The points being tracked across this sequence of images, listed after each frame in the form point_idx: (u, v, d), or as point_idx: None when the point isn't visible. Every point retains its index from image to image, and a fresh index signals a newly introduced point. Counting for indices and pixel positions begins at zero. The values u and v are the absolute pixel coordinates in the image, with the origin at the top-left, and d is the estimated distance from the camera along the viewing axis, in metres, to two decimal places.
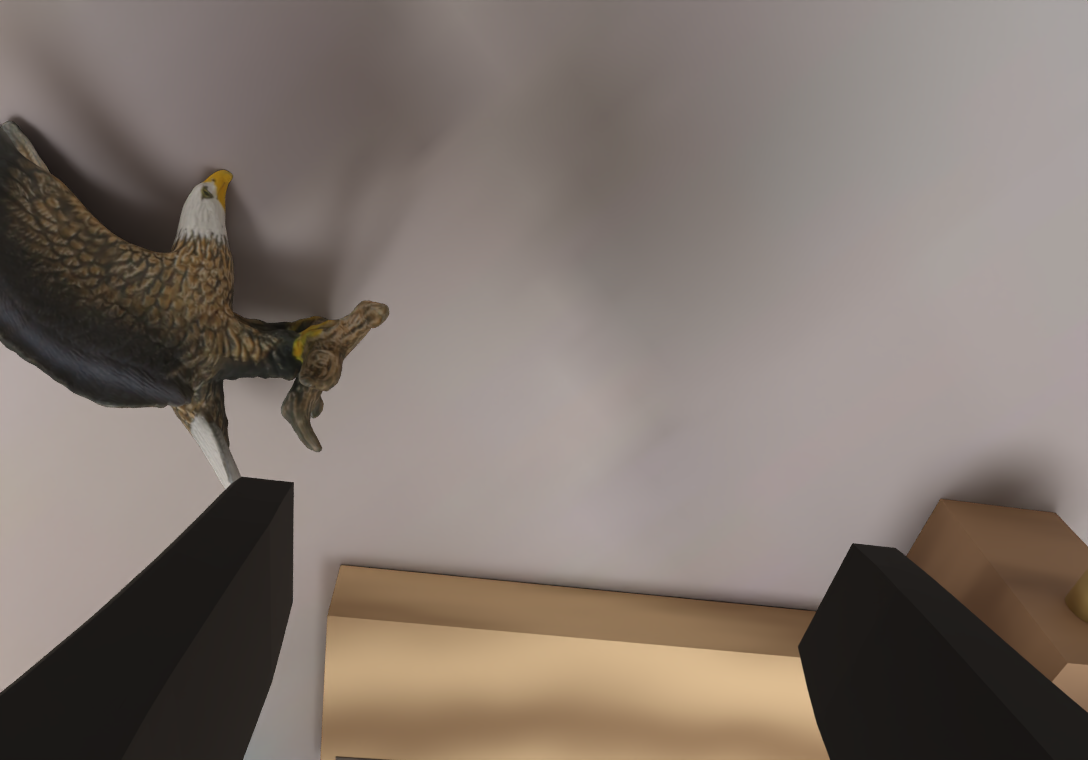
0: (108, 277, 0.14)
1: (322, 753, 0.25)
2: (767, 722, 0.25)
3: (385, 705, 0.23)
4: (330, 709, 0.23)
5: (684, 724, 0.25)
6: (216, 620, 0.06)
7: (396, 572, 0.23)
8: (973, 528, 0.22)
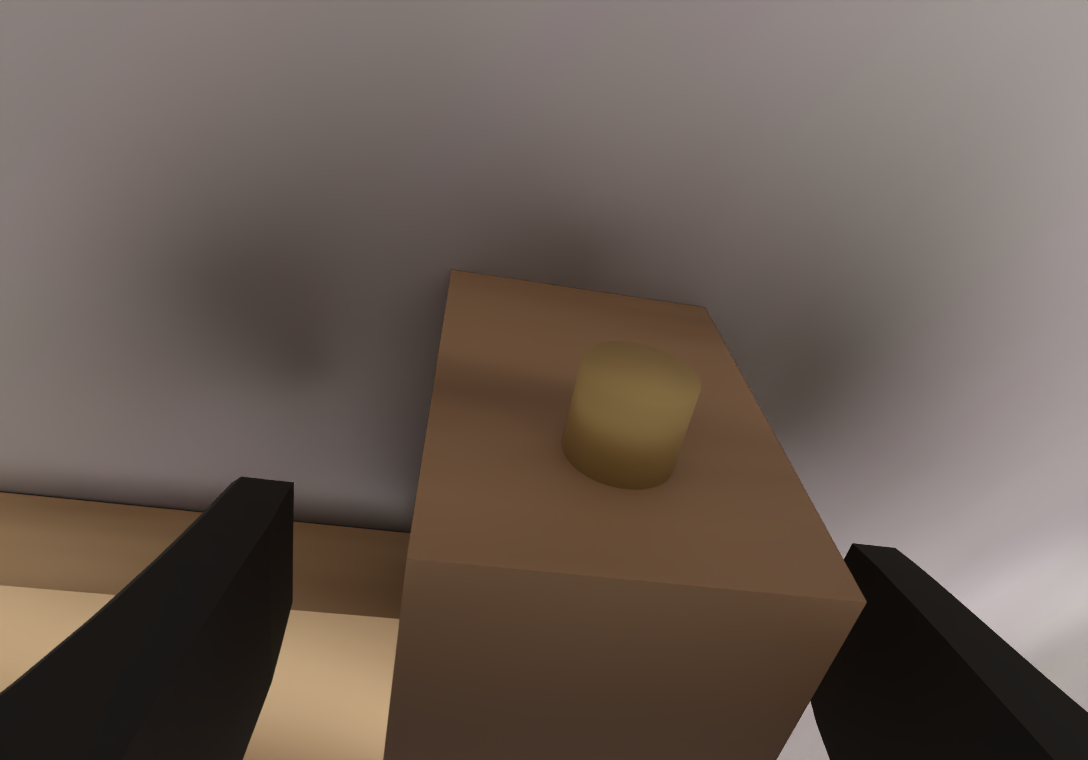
0: None
1: None
2: None
3: None
4: None
5: None
6: (216, 620, 0.06)
7: None
8: (472, 309, 0.10)
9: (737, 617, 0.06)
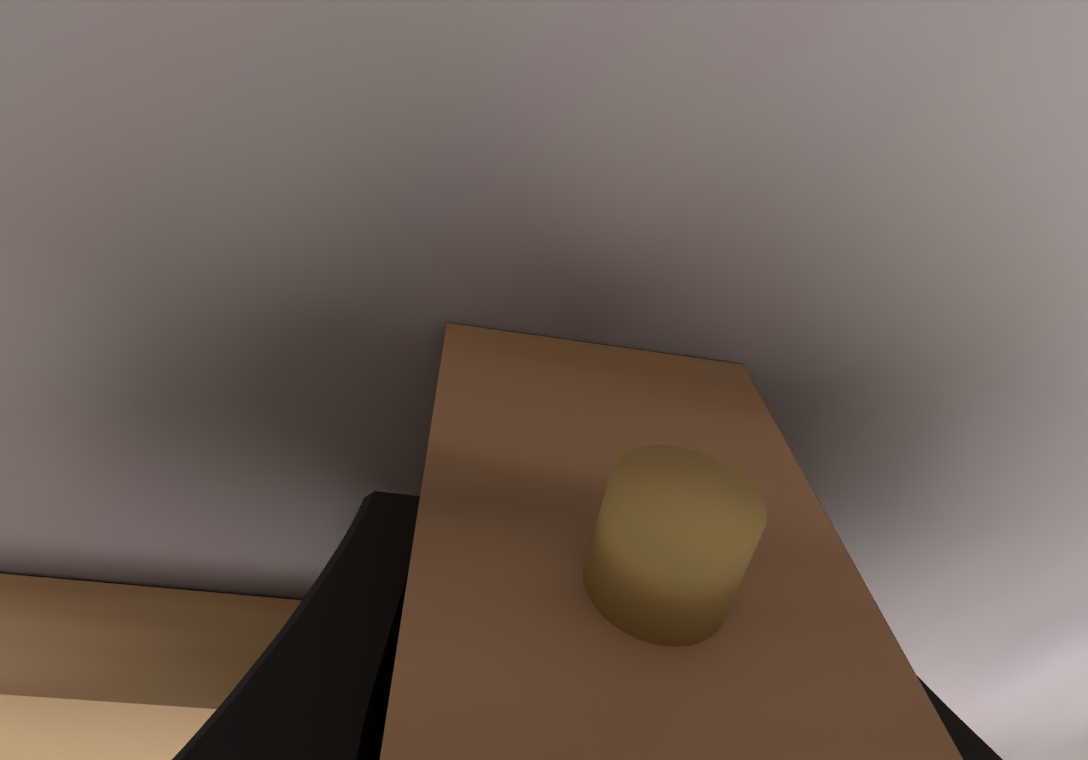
0: None
1: None
2: None
3: None
4: None
5: None
6: (391, 634, 0.07)
7: None
8: (470, 378, 0.08)
9: None
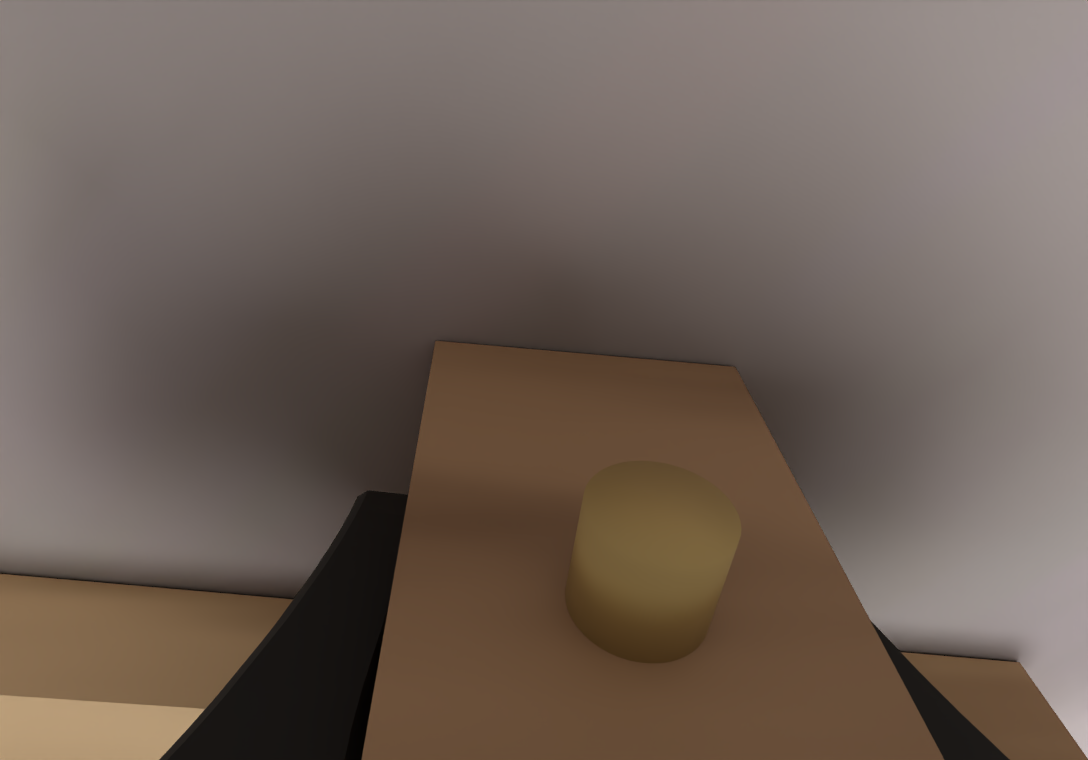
0: None
1: None
2: None
3: None
4: None
5: None
6: (382, 634, 0.07)
7: None
8: (458, 396, 0.08)
9: None
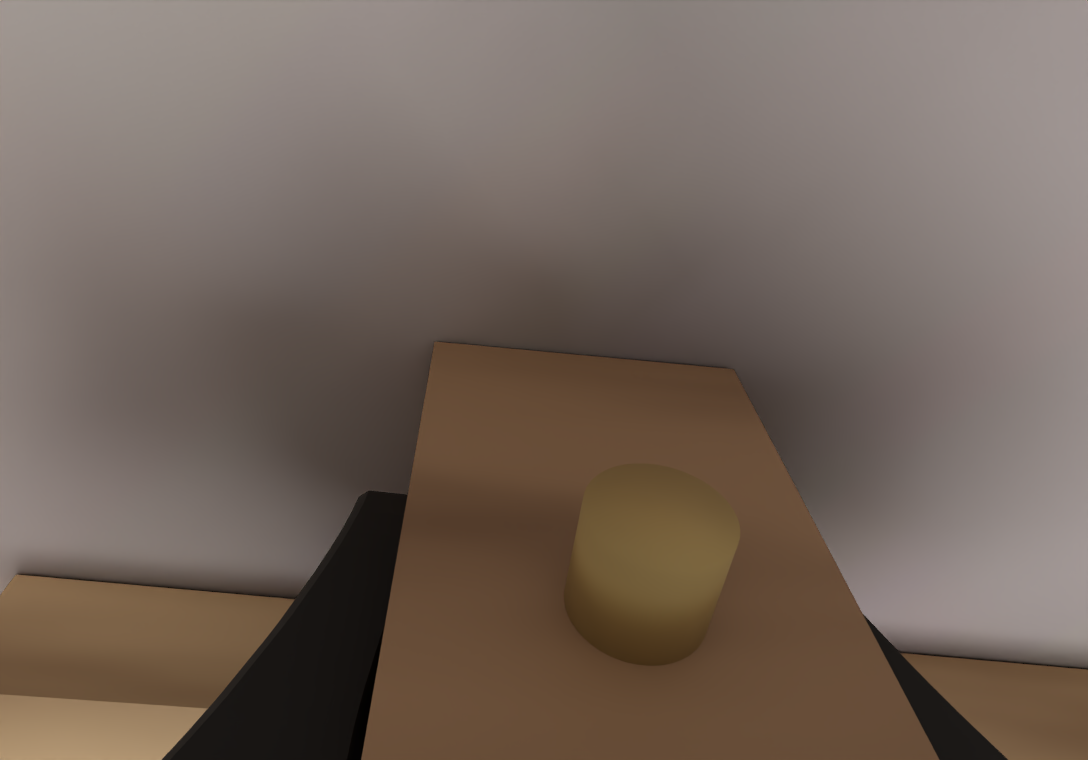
0: None
1: None
2: None
3: None
4: None
5: None
6: None
7: (137, 589, 0.11)
8: (457, 397, 0.08)
9: None
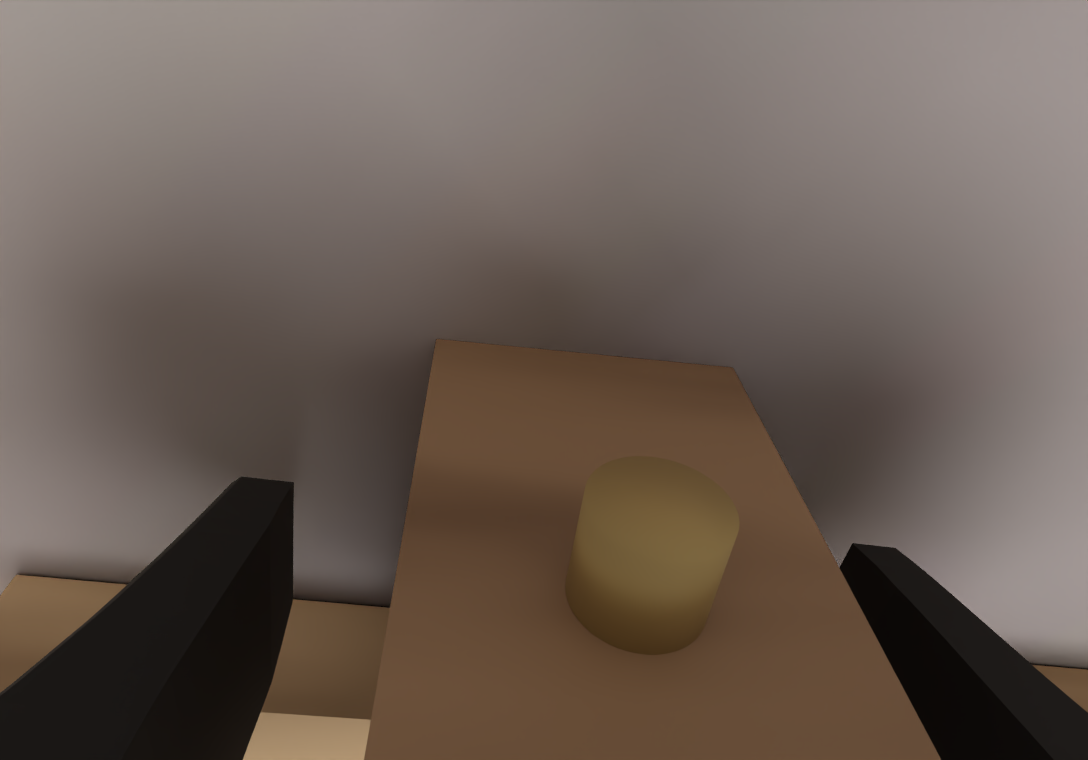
0: None
1: None
2: None
3: None
4: None
5: None
6: (216, 620, 0.06)
7: None
8: (458, 392, 0.08)
9: None
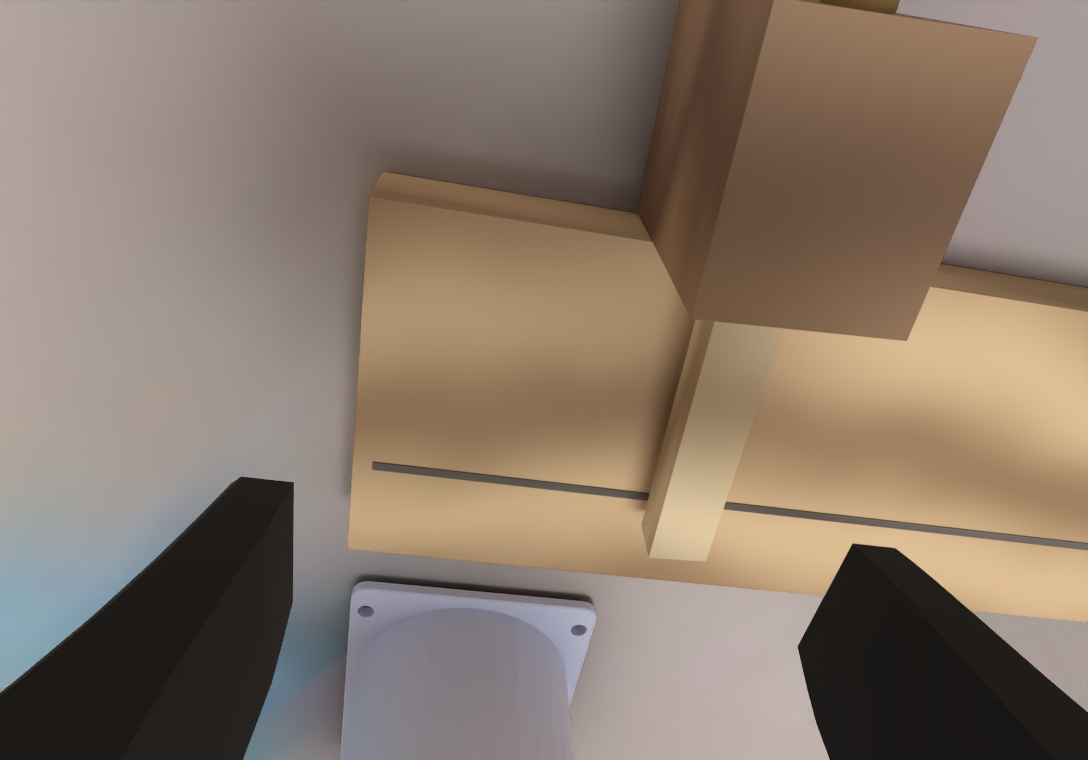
0: None
1: (355, 455, 0.19)
2: (940, 417, 0.19)
3: (442, 369, 0.17)
4: (367, 375, 0.17)
5: (831, 417, 0.19)
6: (216, 620, 0.06)
7: (457, 187, 0.17)
8: None
9: (958, 52, 0.11)
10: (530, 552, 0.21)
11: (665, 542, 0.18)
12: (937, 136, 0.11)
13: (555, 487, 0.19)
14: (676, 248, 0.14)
